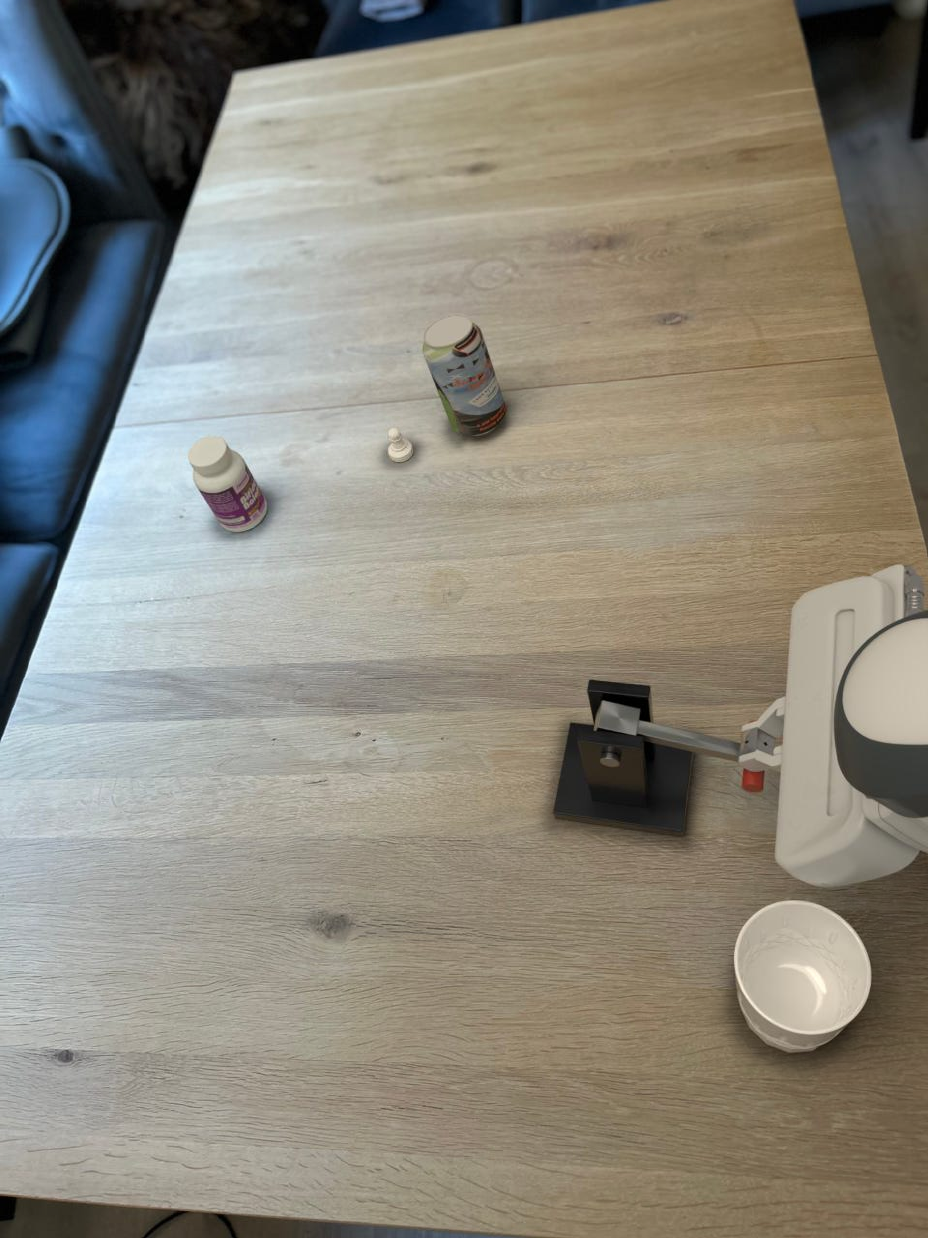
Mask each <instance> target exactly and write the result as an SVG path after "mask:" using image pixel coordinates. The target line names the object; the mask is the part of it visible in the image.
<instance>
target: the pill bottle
mask: <svg viewBox="0 0 928 1238" xmlns="http://www.w3.org/2000/svg"><path fill="white" fill-rule="evenodd" d="M187 460H188V463H189V464H190V466H191V468H192V469H193V471H192V480H193V482H194V485H195V487H196V488H197V490H198V492H199V493H200V494H201V497H202V498H203V499H204V501H205V502H206V504H207V506H208V507H209V509H210V510H211V512H212V514H213V515H214V516H215V518H216V520H217V521H218V523H219V524H220V525H221V527H222V528H224V529H225V530H227V531H229V532H233V533H241V532H246V531H250V530H252V529H253V528H255V527H256V526H258V524H260V522H261V521H262V520H263V519H264V518H265V516H266V514H267V511H268V501H267V499H266V496H265V495H264V492H263V491H262V490H261V488H260V485H259V484H258V482H257V480H256V478H255V477H254V475H253V473H252V471H251V470H250V469H249V466H248V464H247V463H246V461H245V459H244V457H243V456H242V455H241V454H240V453H238V451H236V450H234V449H231V448H230V446H229V445H228V444H227V442H226V441H225V439H224V438H222V437H220V436H217V435H209V436H205V437H202V438H201V439H199V440H197V441H196V442H195V443H193V444H192V446H191V447H190V448H189V450H188V453H187Z"/></svg>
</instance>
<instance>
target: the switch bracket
mask: <svg viewBox="0 0 928 1238" xmlns="http://www.w3.org/2000/svg"><path fill="white" fill-rule="evenodd" d="M586 693H587V697H588V703H589V708H590V713H591V717H592V723H593V724H590V723H589V724H588V723H587V724H586V723H580V722H570V723H569V727H568V733H567V737H566V743H565V748H564V752H563V753H564V754H563V759H562V764H561V770H560V774H559V779H558V784H557V790H556V795H555V801H554V806H553V810H552V814H553V817H554V819H557V820H563V821H564V820H565V821H571V822H577V823H584V824H591V825H598V826H605V827H611V828H616V829H617V828H618V829H624V830H632V831H637V832H645V833H651V834H658V835H666V836H671V837H679V838H680V837H681V838H683V837H684V832H685V823H686V817H687V816H686V815H687V808H688V807H687V806H688V797H689V790H690V782H691V781H690V780H691V774H692V766H693V765H692V764H693V757H694V752H691V751H687V750H682V749H678V748H674V747H669V746H665V745H660V744H656V743H652V742H647V741H643V737H642V736H635V735H626V734H618V733H610V732H601V731H594V726H595V720H596V714H597V712H598V709H599V706H600V704H601V701H602V700H604V701H609V702H613V703H618V704H622V705H626V706H631V707H635V708H640V716H639V720H642V721H646V722H650V723H654V711H653V710H654V709H653V701H652V690H651V685H649V684H648V685H647V684H637V683H629V682H618V681H609V680H600V679H588V683H587V689H586Z"/></svg>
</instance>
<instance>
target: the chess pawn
mask: <svg viewBox="0 0 928 1238" xmlns="http://www.w3.org/2000/svg"><path fill="white" fill-rule="evenodd" d="M387 436H388V438H389V441H390V442H391V444H389V446H388V447H387V454H388V456H389V458H390V460H391V461H393V462H395V463H403V462H406V461H407V460H409V459H410V458H411V457H412V456H413V454H414V448H413V445H412V443H411V442H410V441H409V440H408V439H406V438H405V439H404V438H402V437H403V436H402V433H401V431H400V429H399V428H398V427H392V428H390V429H389V430H388V432H387Z"/></svg>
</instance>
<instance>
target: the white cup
mask: <svg viewBox="0 0 928 1238" xmlns="http://www.w3.org/2000/svg"><path fill="white" fill-rule="evenodd" d="M733 965H734V979H735V989H736V994H737V999H738V1004H739V1005H738V1006H739V1007H740V1010H741V1012H742V1014H743V1017H744V1019H745V1022H746V1024H747V1027H748V1028H749V1029H750V1030H751V1031H752V1032H753V1033H754V1034H755V1035H756V1036H757V1037H758V1038H759V1039H760V1040H762V1041H763V1043H764V1044H766V1045H768V1046H770V1047H773V1048H776V1049H778V1050H780V1051H783V1052H786V1053H789V1054H793V1053H795V1054H796V1053H804V1052H805V1053H806V1052H813V1051H815V1050H817V1049H818V1048H820V1047H822V1045H825V1044H827V1043H829V1042H830V1041H832V1040H833V1039H834V1038H835V1037H837V1036H838V1035H839V1034H840V1033H842V1031H844V1030H845V1028H846V1027H847V1026H848V1025H849V1024H850V1023H851V1022H852V1021H853V1020H854V1019H855V1018H856V1017H857V1016H858V1015H859V1013H860V1012H861V1011H862V1009H863V1008H864V1006H865V1004H866V1002H867V1001H868V997H869V994H870V991H871V985H872V966H871V962H870V957H869V954H868V950H867V948H866V946H865V944H864V942H863V940H862V939H861V937H860V935H859V934H858V933H857V931H856V930H855V929H854V928H853V927H852V925H851V924H850V923H849V922H848V921H846V920H845V918H843V917H842V916H840V915H839V914H838V913H836V912H834V911H833V910H831V909H830V908H828V907H826V906H823V905H820V904H818V903H815V902H811V901H806V900H797V899H796V900H795V899H792V900H791V899H790V900H789V899H788V900H781V901H777V902H774V903H770V904H768V905H766V906H764V907H762V908H760V909H759V910H758V911H756V912H755V913H754V914H752V915H751V916H750V917H749V919H747V921H746V922H745V923H744V925H743V927H742V928H741V930H740V932H739V934H738V936H737V939H736V942H735V946H734V951H733Z"/></svg>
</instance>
